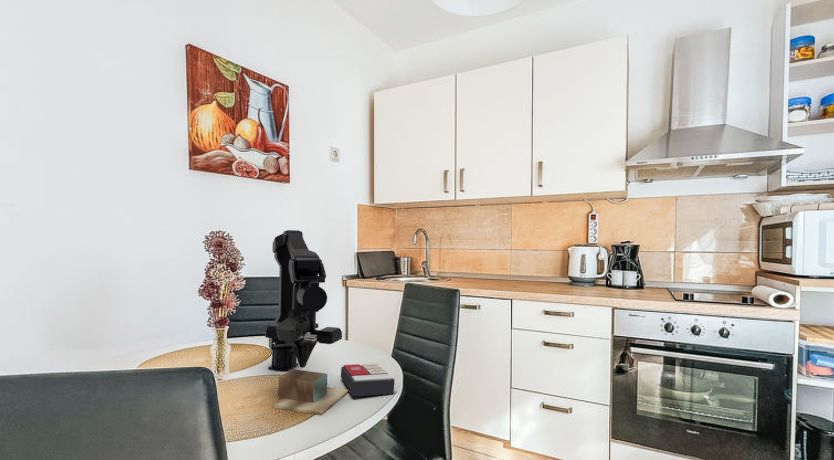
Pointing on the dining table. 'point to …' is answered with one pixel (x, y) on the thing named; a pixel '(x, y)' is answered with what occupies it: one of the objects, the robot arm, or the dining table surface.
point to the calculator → (367, 380)
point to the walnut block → (302, 385)
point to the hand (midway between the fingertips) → (302, 367)
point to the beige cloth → (313, 408)
